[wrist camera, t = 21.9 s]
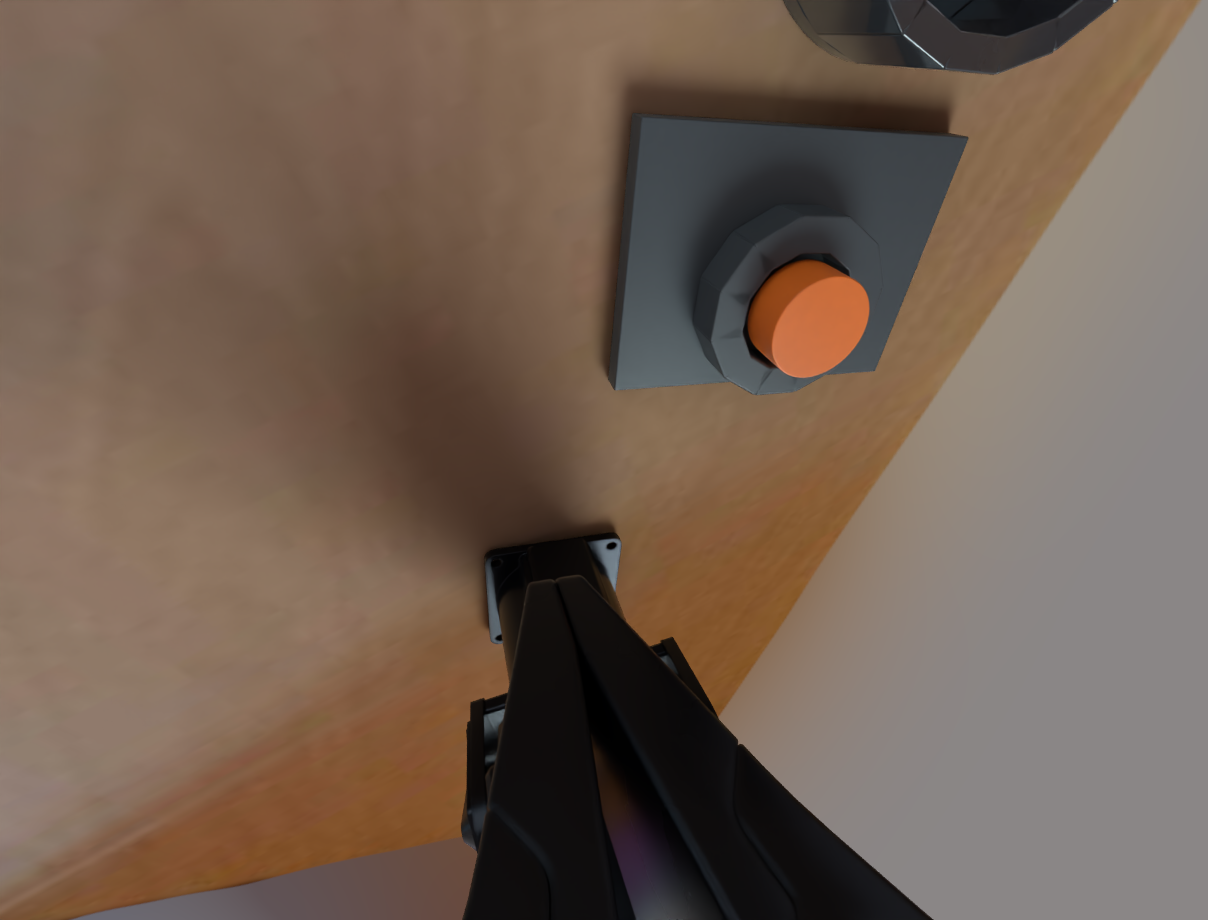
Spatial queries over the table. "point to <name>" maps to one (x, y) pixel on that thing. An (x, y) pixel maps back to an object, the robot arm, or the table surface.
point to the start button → (808, 317)
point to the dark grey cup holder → (944, 31)
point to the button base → (762, 237)
